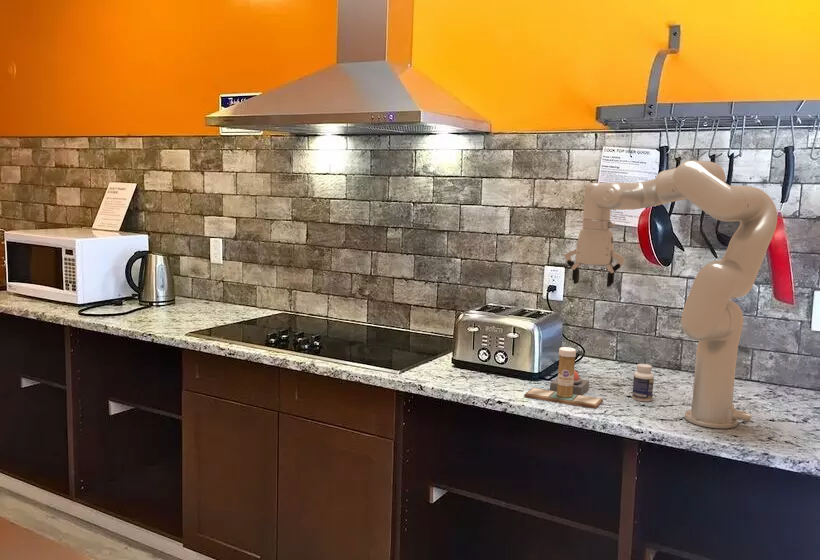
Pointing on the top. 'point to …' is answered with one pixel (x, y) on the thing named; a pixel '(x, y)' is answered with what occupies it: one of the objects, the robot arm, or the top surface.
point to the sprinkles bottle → (566, 372)
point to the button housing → (577, 389)
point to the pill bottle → (643, 383)
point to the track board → (574, 400)
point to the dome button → (577, 378)
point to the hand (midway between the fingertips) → (592, 284)
